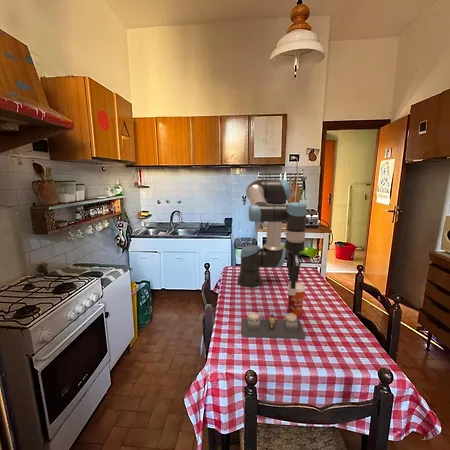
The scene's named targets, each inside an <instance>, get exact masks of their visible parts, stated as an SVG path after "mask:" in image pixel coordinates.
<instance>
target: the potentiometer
mask: <svg viewBox="0 0 450 450" xmlns="http://www.w3.org/2000/svg"><path fill="white" fill-rule="evenodd" d="M270 314H271V315H269V317H268V319H269V327H271V328H274V327H275V320H276V317H275V316H274V313H270Z"/></svg>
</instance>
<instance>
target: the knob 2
mask: <svg viewBox="0 0 450 450" xmlns="http://www.w3.org/2000/svg"><path fill="white" fill-rule="evenodd" d="M284 317H285V319H286V320H287V321H288V322H295V321H296V320H298V318H297V316H296V315H295V314H293V313H285V316H284Z"/></svg>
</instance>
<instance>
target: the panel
mask: <svg viewBox="0 0 450 450" xmlns="http://www.w3.org/2000/svg"><path fill="white" fill-rule="evenodd" d="M285 317H286V316H284V317H283V318H284V319H275V327H274V328H271V327H269V318H266V319H265V318H259V319H258V320H256V321H251V320H250V319H249V318H248V317H247V318H241V336H242V337H243V338H267V339H268V338H269V339H271V338H272V339H273V338H274V339H301V340H305V339H306V333H305V330H304V328H303V326H302V323H301V321H300V320H299V319H296V321H295V322H288V321H287V320H286V319H285Z"/></svg>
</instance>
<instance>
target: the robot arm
mask: <svg viewBox="0 0 450 450" xmlns="http://www.w3.org/2000/svg"><path fill="white" fill-rule="evenodd" d="M245 192H246V193H245V194H246V197H247V199H248V200H249V202H250V204H249V205H248V221H250V222H252V223H254V222H255V223H266V240H265V241H266V242H265V243H264V244H263V247H262V248H261V247H260V246H259V245H257V244H254V245H253V244H252V245H246V246H244V247H242V248H241V249H240V251H241V252H240V271H239V274H238V276H237V284H238V285H240V286H242V287H246V288H256V287H260V286H261V285H262V281H263V280H262V277H261V274H260V273H261V272H260V268H274V269H275V268H281V267H283V266H284V264H285V259H286V251H288V253H287V256H288V257H287V259H288V261H287V263H288V265H287V266H288V267H287V276H288V279H287V281H288V285H289V290H288V289H287V291H288V292H287V295H288V294H289V295H295V294H296V283H297V282H298V281H299V276H300V275H299V274H300V267H301V263H302V262H301V261H300V260H301V255H300V252H303V251H304V250H305V240H306V227H307V226H306V223H307V215H308V210H307V204H306V203H304V202H297V201H296V202H289V203H287V201H288V200H290V197H291V191H290V185H289V182H288V181H287V180H286V179H280V178H278V179H275V178H274V179H271V178H270V179H264V178H262V179H257V180H254V181H253V182H251V183H249V185H248V186H247V188H246V191H245ZM283 223H286V228H285V229H286V232H284V236H285V239H286V240H285V244H284V245H285V246H283V245H282V244H281V239H282V228H283V226H282V225H283ZM283 247H285V249H284V248H283Z"/></svg>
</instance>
